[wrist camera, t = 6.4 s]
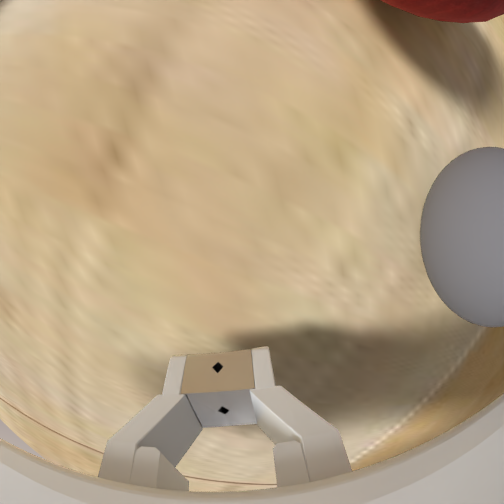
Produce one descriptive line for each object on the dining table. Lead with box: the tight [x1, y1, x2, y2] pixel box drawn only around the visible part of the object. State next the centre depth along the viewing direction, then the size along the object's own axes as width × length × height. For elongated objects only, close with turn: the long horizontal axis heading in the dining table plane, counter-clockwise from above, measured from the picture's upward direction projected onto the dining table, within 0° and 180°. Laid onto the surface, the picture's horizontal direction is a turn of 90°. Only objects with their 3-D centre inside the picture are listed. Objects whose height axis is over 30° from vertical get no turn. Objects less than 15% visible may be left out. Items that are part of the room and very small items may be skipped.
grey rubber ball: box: [420, 147, 504, 327], centre depth 6 cm, size 6×6×6 cm
